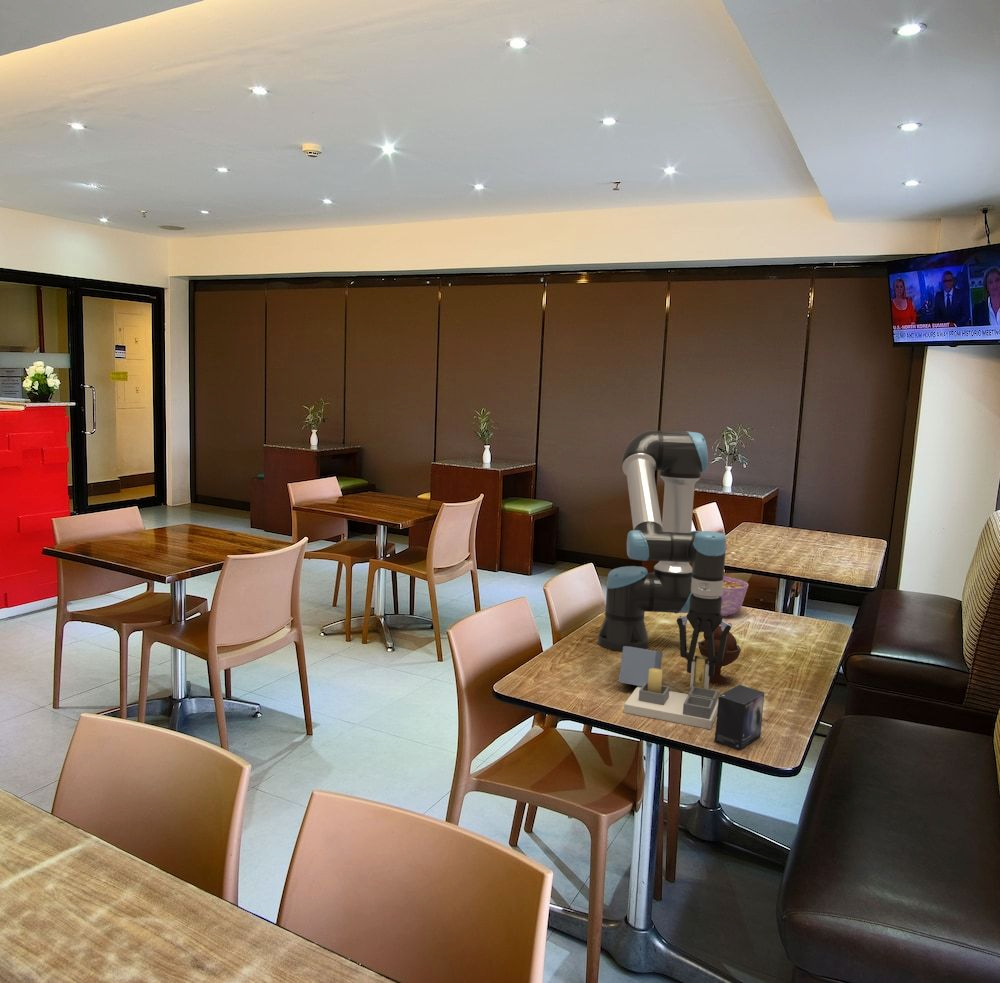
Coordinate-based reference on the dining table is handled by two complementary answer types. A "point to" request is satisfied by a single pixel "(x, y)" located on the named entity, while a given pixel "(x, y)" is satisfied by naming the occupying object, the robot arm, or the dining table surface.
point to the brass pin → (700, 670)
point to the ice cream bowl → (729, 654)
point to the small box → (739, 716)
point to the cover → (638, 665)
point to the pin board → (673, 703)
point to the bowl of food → (732, 595)
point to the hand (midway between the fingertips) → (699, 686)
